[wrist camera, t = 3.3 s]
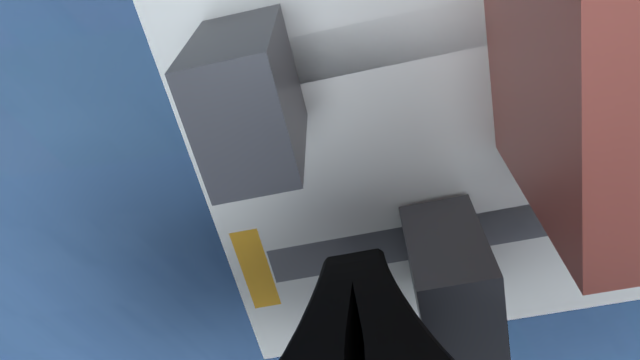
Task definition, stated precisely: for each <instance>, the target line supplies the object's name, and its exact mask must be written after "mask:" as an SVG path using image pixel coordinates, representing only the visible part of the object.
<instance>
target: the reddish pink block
mask: <svg viewBox="0 0 640 360" xmlns="http://www.w3.org/2000/svg"><path fill="white" fill-rule="evenodd" d="M484 10H485V22H486V34H487V46H488V58H489V70H490V82H491V94H492V105H493V117H494V129H495V141H496V148H497V150H498V152H499V153H500V155H501V157H502V158H503V160H504V162H505V163H506V165H507V167H508V169H509V170H510V172H511V174H512V175H513V177H514V179H515V181H516V182H517V184H518V186H519V187H520V189H521V191H522V193H523V194H524V196H525V198H526V199H527V201H528V203H529V204H530V206H531V208H532V210H533V211H534V213H535V215H536V216H537V218H538V220H539V222H540V223H541V225H542V227H543V228H544V230H545V232H546V234H547V235H548V237H549V239H550V240H551V242H552V244H553V245H554V247H555V249H556V251H557V252H558V254H559V256H560V257H561V259H562V261H563V263H564V264H565V266H566V268H567V269H568V271H569V273H570V274H571V276H572V278H573V280H574V281H575V283H576V285H577V286H578V288H579V290H580V292H581V293H582V295H583V296H584V295H590V294H596V293H602V292H609V291H615V290H621V289H627V288H633V287H640V0H484Z"/></svg>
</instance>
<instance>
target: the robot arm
mask: <svg viewBox="0 0 640 360" xmlns="http://www.w3.org/2000/svg"><path fill="white" fill-rule="evenodd" d="M279 360H455V359H454V358H453V357H452V356H451V355H450V354H449V353H448V352H447V351H446V350H445V349H444V348H443V346H442V345H441V344H440V343H439V342H438V341H437V340H436V338H435V337H434V336H433V335H432V333H431V332H430V331H429V330H428V328H427V327H426V326H425V325H424V323H423V322H422V321H421V319H420V318H419V317H418V315H417V314H416V313H415V311H414V310H413V308H412V307H411V305H410V304H409V302H408V301H407V299H406V298H405V296H404V295H403V293H402V291H401V290H400V288H399V286H398V285H397V283H396V281H395V279H394V277H393V275H392V273H391V271H390V269H389V267H388V264H387V262H386V259H385V255H384V252H383V251H382V250H380V249H379V248H377V249H371V250H365V251H359V252H354V253H348V254H342V255H337V256H331V257H327V258H326V260H325V261H324V262H323V266H322V269H321V272H320V275H319V278H318V281H317V283H316V286H315V288H314V291H313V293H312V296H311V298H310V301H309V303H308V305H307V307H306V309H305V312H304V314H303V316H302V318H301V320H300V322H299V324H298V326H297V328H296V330H295V332H294V334H293V336H292V338H291V340H290V341H289V343H288V345H287V347H286V349H285V351H284V352H283V354H282V356H281V357H280V359H279Z"/></svg>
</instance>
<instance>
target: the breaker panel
mask: <svg viewBox="0 0 640 360" xmlns="http://www.w3.org/2000/svg"><path fill="white" fill-rule="evenodd" d="M133 2H134V5H135V8H136V11H137V13H138V16H139V19H140V21H141V24H142V27H143V30H144V32H145V35H146V38H147V41H148V43H149V46H150V49H151V52H152V54H153V57H154V60H155V62H156V65H157V68H158V71H159V73H160V76H161V79H162V82H163V84H164V87H165V90H166V93H167V95H168V98H169V101H170V103H171V106H172V109H173V112H174V114H175V117H176V120H177V123H178V125H179V128H180V131H181V134H182V136H183V139H184V142H185V144H186V147H187V150H188V153H189V155H190V158H191V161H192V164H193V166H194V169H195V172H196V175H197V177H198V180H199V183H200V185H201V188H202V191H203V194H204V196H205V199H206V202H207V205H208V207H209V210H210V213H211V216H212V218H213V221H214V224H215V226H216V229H217V232H218V235H219V237H220V240H221V243H222V246H223V248H224V251H225V254H226V257H227V259H228V262H229V265H230V267H231V270H232V273H233V276H234V278H235V281H236V284H237V287H238V289H239V292H240V295H241V298H242V300H243V303H244V306H245V308H246V311H247V314H248V317H249V319H250V322H251V325H252V328H253V330H254V333H255V336H256V339H257V341H258V344H259V347H260V349H261V352H262V355H263V358H264V359H268V358H274V357H280V356H282V354H283V352H284V351H285V349H286V347H287V345H288V343H289V341H290V340H291V338H292V336H293V334H294V332H295V330H296V328H297V326H298V324H299V322H300V320H301V318H302V316H303V314H304V312H305V309H306V307H307V305H308V303H309V301H310V298H311V296H312V293H313V291H314V288H315V286H316V283H317V281H318V278H319V275H320V272H321V269H322V266H323V262H324V261H325V260H326V258H327V257H331V256H337V255H342V254H348V253H354V252H359V251H365V250H371V249H377V248H379V249H380V250H382V251H383V252H384V255H385V259H386V262H387V264H388V267H389V269H390V271H391V273H392V275H393V277H394V279H395V281H396V283H397V285H398V286H399V288H400V290H401V291H402V293H403V295H404V296H405V298H406V299H407V301H408V302H409V304H410V305H411V307H412V308H413V310H414V311H415V313H416V314H417V315H418V317H419V313H418V308H417V304H416V299H415V294H414V289H413V284H412V278H411V273H410V267H409V262H408V256H407V251H406V246H405V240H404V235H403V229H402V224H401V218H400V213H399V207H401V206H407V205H412V204H418V203H423V202H429V201H434V200H440V199H445V198H450V197H456V196H461V195H467V194H468V195H469V197H470V200H471V202H472V204H473V207H474V209H475V212H476V214H477V216H478V219H479V221H480V223H481V226H482V228H483V230H484V233H485V235H486V237H487V240H488V242H489V245H490V247H491V249H492V252H493V254H494V256H495V259H496V261H497V263H498V266H499V268H500V270H501V273H502V275H503V278H504V290H505V301H506V313H507V320H514V319H520V318H526V317H533V316H539V315H545V314H551V313H558V312H564V311H570V310H577V309H583V308H589V307H596V306H602V305H608V304H615V303H621V302H627V301H633V300H640V287H633V288H627V289H621V290H615V291H609V292H602V293H596V294H590V295H584V296H583V295H582V293H581V292H580V290H579V288H578V286H577V285H576V283H575V281H574V280H573V278H572V276H571V274H570V273H569V271H568V269H567V268H566V266H565V264H564V263H563V261H562V259H561V257H560V256H559V254H558V252H557V251H556V249H555V247H554V245H553V244H552V242H551V240H550V239H549V237H548V235H547V234H546V232H545V230H544V228H543V227H542V225H541V223H540V222H539V220H538V218H537V216H536V215H535V213H534V211H533V210H532V208H531V206H530V204H529V203H528V201H527V199H526V198H525V196H524V194H523V193H522V191H521V189H520V187H519V186H518V184H517V182H516V181H515V179H514V177H513V175H512V174H511V172H510V170H509V169H508V167H507V165H506V163H505V162H504V160H503V158H502V157H501V155H500V153H499V152H498V150H497V148H496V141H495V129H494V117H493V105H492V94H491V82H490V70H489V58H488V46H487V34H486V22H485V10H484V0H133Z"/></svg>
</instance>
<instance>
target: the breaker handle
mask: <svg viewBox="0 0 640 360" xmlns="http://www.w3.org/2000/svg"><path fill="white" fill-rule="evenodd" d="M399 213H400V218H401V224H402V229H403V235H404V240H405V246H406V251H407V256H408V262H409V267H410V273H411V278H412V284H413V289H414V294H415V299H416V304H417V308H418V313H419V318H420V319H421V321H422V322H423V323H424V325H425V326H426V327H427V328H428V330H429V331H430V332H431V333H432V335H433V336H434V337H435V338H436V340H437V341H438V342H439V343H440V344H441V345H442V346H443V348H444V349H445V350H446V351H447V352H448V353H449V354H450V355H451V356H452V357H453V358H454V359H455V360H511V358H510V347H509V335H508V324H507V313H506V301H505V290H504V278H503V275H502V273H501V270H500V268H499V266H498V263H497V261H496V259H495V256H494V254H493V252H492V249H491V247H490V245H489V242H488V240H487V237H486V235H485V233H484V230H483V228H482V226H481V223H480V221H479V219H478V216H477V214H476V212H475V209H474V207H473V204H472V202H471V200H470V197H469V195H468V194H467V195H461V196H456V197H450V198H445V199H440V200H434V201H429V202H423V203H418V204H412V205H407V206H401V207H399Z"/></svg>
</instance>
